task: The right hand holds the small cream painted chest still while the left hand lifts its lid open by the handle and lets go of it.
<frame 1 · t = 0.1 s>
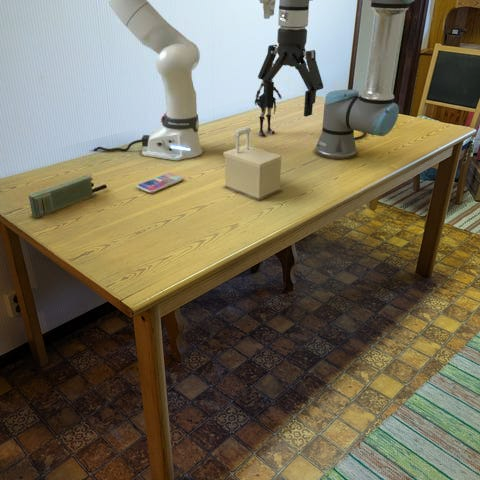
left hand: (268, 17, 163), 48 cm above the table, tool pointing down, fingers open, 8 cm apart
right hand: (287, 110, 140), 28 cm above the table, tool pointing down, fingers open, 13 cm apart
chest: (252, 189, 162), on the table
figurine: (265, 134, 212), on the table
handheld radio: (72, 203, 151), on the table
lid: (252, 145, 155), point 15 cm above the table, hinge at 0.0°
smartphone: (160, 184, 164), on the table
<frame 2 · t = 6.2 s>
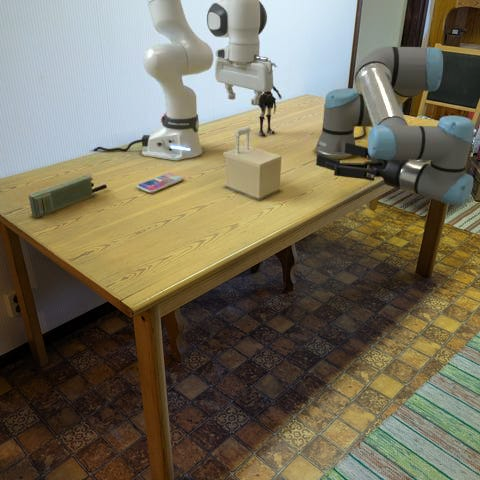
left hand: (243, 102, 151), 27 cm above the table, tool pointing down, fingers open, 8 cm apart
right hand: (331, 153, 136), 19 cm above the table, tool horizontal, fingers open, 13 cm apart
nothing on the table moved.
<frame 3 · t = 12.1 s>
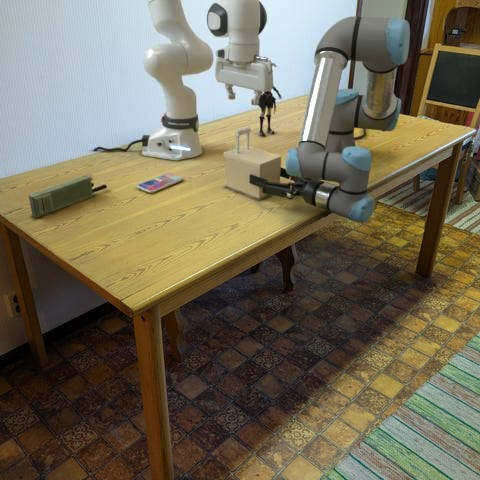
left hand: (243, 102, 151), 27 cm above the table, tool pointing down, fingers open, 8 cm apart
right hand: (261, 173, 157), 6 cm above the table, tool horizontal, fingers closed on chest, 10 cm apart
chest: (252, 189, 162), on the table, touching right hand
everything else where it was.
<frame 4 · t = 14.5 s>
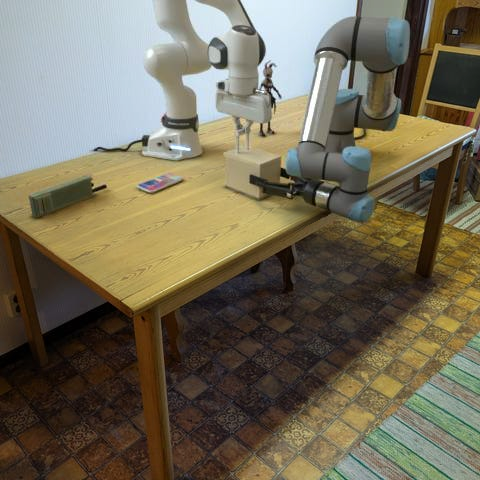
left hand: (242, 131, 156), 18 cm above the table, tool pointing down, fingers closed on lid, 2 cm apart
right hand: (261, 173, 157), 6 cm above the table, tool horizontal, fingers closed on chest, 10 cm apart
chest: (252, 189, 162), on the table, touching right hand
lid: (252, 145, 155), point 15 cm above the table, hinge at -0.2°, touching left hand
everything else where it was.
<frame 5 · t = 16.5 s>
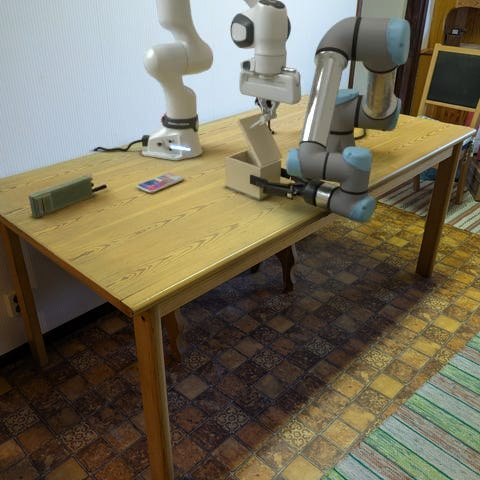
left hand: (268, 114, 146), 25 cm above the table, tool pointing down, fingers closed, pressing on lid
right hand: (262, 174, 156), 6 cm above the table, tool horizontal, fingers closed on chest, 10 cm apart
chest: (252, 189, 162), on the table, touching right hand
lid: (267, 134, 149), point 19 cm above the table, hinge at 52.0°, touching left hand
everything else where it was.
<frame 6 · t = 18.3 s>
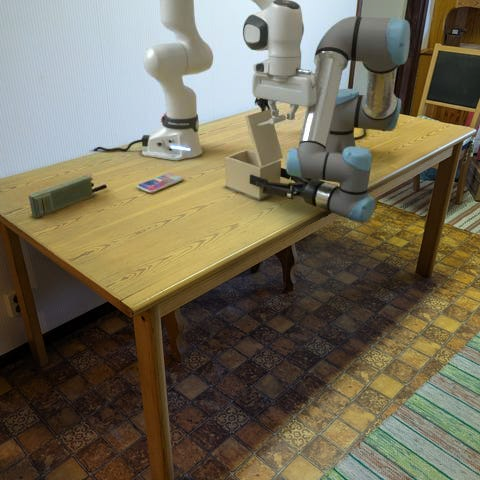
left hand: (282, 117, 143), 25 cm above the table, tool pointing down, fingers open, 4 cm apart
right hand: (261, 174, 156), 6 cm above the table, tool horizontal, fingers closed on chest, 10 cm apart
chest: (252, 189, 162), on the table, touching right hand
lid: (273, 135, 148), point 19 cm above the table, hinge at 66.5°, touching left hand
everything else where it was.
when the right hand's fingers open (6 cm above the table, at t = 21.7 s): chest stays where it is, on the table.
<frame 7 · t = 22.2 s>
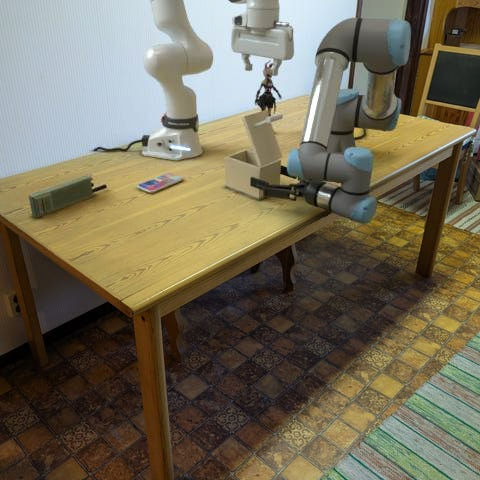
left hand: (260, 72, 143), 36 cm above the table, tool pointing down, fingers open, 8 cm apart
right hand: (265, 175, 155), 6 cm above the table, tool horizontal, fingers open, 13 cm apart
chest: (252, 189, 162), on the table
lid: (270, 134, 148), point 19 cm above the table, hinge at 62.1°
everything else where it was.
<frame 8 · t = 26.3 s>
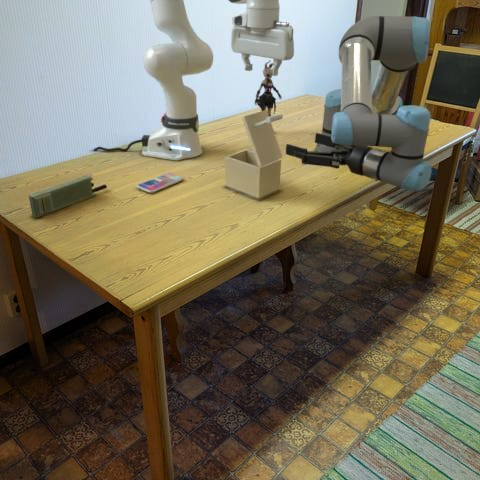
left hand: (260, 72, 143), 36 cm above the table, tool pointing down, fingers open, 8 cm apart
right hand: (301, 143, 142), 20 cm above the table, tool horizontal, fingers open, 13 cm apart
nothing on the table moved.
at the end: lid at +62° (first picture: +0°); the left hand is holding nothing; the right hand is holding nothing; chest tilted 0°; chest never tilted more than 1° during the clip; chest moved 0.0 cm from its start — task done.
